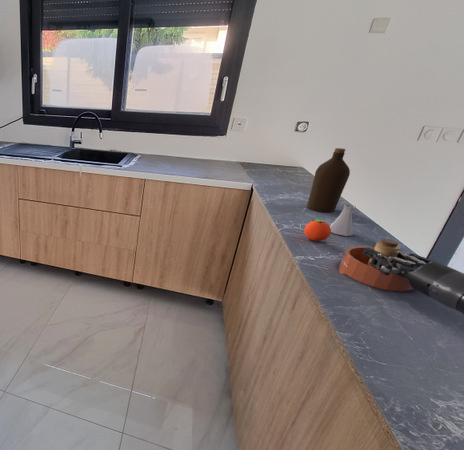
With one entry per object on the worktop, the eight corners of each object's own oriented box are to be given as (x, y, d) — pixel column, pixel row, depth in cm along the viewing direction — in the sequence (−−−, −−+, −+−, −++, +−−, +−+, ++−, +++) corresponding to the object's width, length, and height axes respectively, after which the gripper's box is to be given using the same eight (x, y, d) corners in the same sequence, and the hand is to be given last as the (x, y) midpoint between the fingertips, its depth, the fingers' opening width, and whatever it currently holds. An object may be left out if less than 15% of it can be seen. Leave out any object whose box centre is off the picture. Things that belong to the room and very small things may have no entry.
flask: (357, 233, 109) (367, 206, 105) (347, 238, 106) (358, 211, 102) (332, 226, 115) (341, 200, 111) (323, 230, 111) (332, 204, 107)
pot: (390, 268, 88) (399, 250, 86) (427, 299, 75) (438, 278, 73) (329, 261, 92) (335, 243, 90) (354, 289, 79) (362, 269, 77)
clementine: (296, 233, 110) (301, 215, 107) (317, 234, 108) (324, 216, 106) (308, 244, 102) (315, 224, 99) (332, 245, 101) (339, 225, 98)
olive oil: (325, 214, 125) (346, 152, 115) (298, 206, 134) (316, 147, 124) (342, 211, 128) (365, 149, 118) (315, 203, 137) (334, 145, 127)
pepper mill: (380, 271, 84) (395, 238, 80) (390, 280, 81) (407, 246, 77) (360, 269, 86) (374, 236, 82) (369, 277, 82) (384, 243, 78)
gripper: (489, 270, 66) (405, 236, 82) (425, 273, 66) (353, 238, 82) (471, 299, 69) (393, 261, 85) (410, 302, 69) (343, 262, 85)
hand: (374, 250), depth 83 cm, fingers closed on pepper mill, 4 cm apart
